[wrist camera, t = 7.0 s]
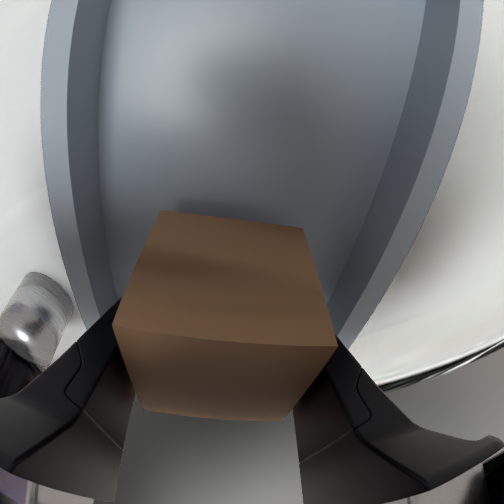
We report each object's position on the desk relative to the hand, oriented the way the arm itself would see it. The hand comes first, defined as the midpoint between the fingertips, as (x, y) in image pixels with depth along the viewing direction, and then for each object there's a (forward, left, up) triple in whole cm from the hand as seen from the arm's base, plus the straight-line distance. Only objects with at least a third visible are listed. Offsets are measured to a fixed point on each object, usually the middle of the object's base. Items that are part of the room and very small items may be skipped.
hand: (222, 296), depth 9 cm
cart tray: (+4, 0, -4) cm, 5 cm away
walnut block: (0, 0, -1) cm, 1 cm away
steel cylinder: (-6, +11, -4) cm, 13 cm away
